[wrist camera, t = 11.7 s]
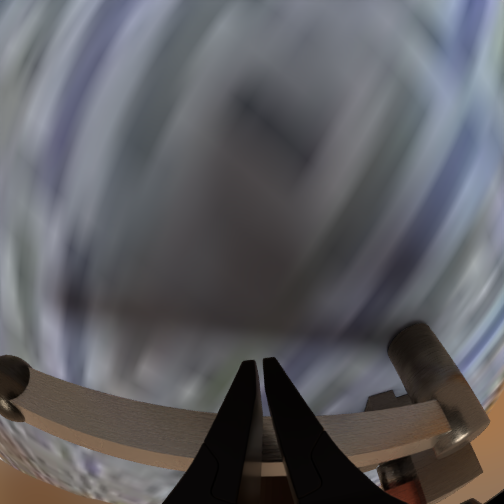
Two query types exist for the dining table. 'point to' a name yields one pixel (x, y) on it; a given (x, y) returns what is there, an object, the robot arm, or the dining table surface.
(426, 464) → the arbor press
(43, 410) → the lever
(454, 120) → the dining table surface
